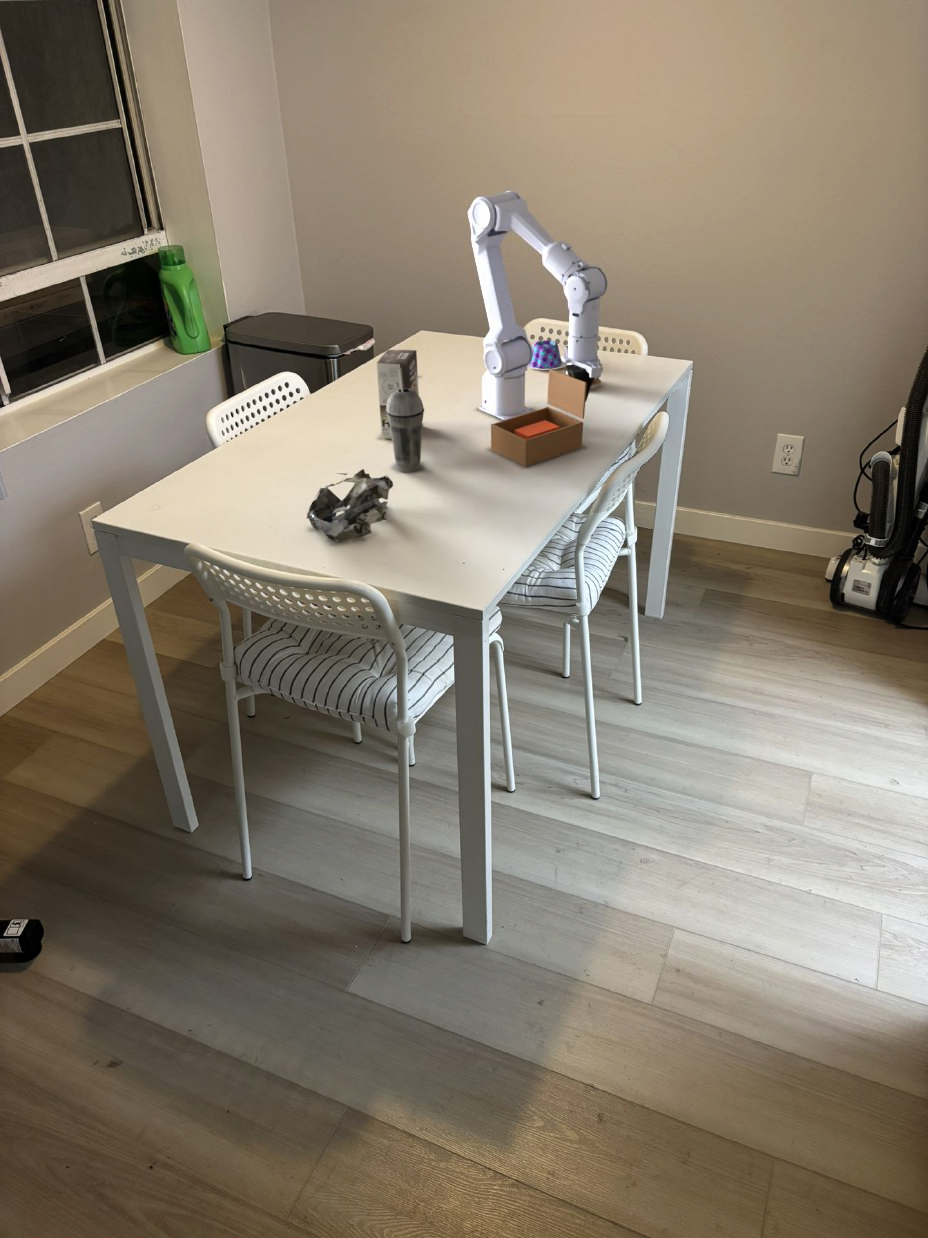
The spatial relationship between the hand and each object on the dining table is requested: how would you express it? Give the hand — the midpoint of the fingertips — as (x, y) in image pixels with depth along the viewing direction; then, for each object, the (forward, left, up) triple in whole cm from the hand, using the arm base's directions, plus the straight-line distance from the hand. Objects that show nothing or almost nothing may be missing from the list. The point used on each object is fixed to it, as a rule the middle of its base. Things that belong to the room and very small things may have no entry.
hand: (580, 401), depth 192 cm
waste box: (0, -11, -7) cm, 13 cm away
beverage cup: (-9, -36, -8) cm, 38 cm away
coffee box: (-25, -27, -8) cm, 38 cm away
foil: (+5, -57, -8) cm, 58 cm away
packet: (0, -11, -7) cm, 13 cm away
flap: (0, -4, +2) cm, 4 cm away
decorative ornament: (-21, +21, -8) cm, 31 cm away
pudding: (-38, +24, -8) cm, 46 cm away
